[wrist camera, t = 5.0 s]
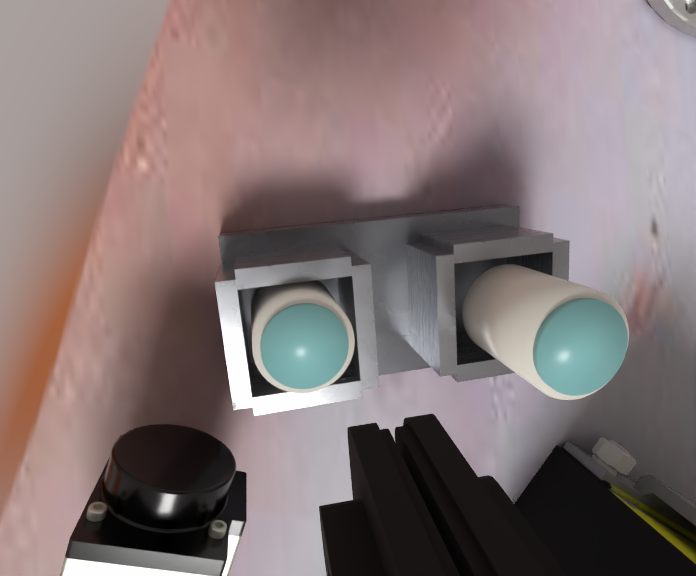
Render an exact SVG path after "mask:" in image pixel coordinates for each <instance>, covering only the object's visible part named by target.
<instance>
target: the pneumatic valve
mask: <svg viewBox="0 0 696 576" xmlns="http://www.w3.org/2000/svg"><path fill="white" fill-rule="evenodd" d="M245 523H246V473H245V472H241V471H236V462H235V458H234V456H233V454H232V453H231V451H230V450H229V449H228V448H227V447H226V446H225V445H224V444H223V443H222V442H221V441H219V440H218V439H216V438H215V437H213V436H211V435H209V434H207V433H205V432H202V431H199V430H196V429H193V428H189V427H185V426H179V425H168V424H157V425H147V426H142V427H139V428H135V429H133V430H130V431H128V432H127V433H125V434H123V435H121V436H120V437H119V439H118V440H117V441H116V442H115V444H114V445H113V448H112V451H111V455H110V458H109V460H108V462H107V464H106V466H105V468H104V470H103V472H102V474H101V476H100V478H99V480H98V482H97V484H96V486H95V488H94V490H93V492H92V494H91V496H90V498H89V500H88V502H87V504H86V506H85V508H84V510H83V513H82V515H81V517H80V519H79V521H78V523H77V525H76V527H75V529H74V531H73V533H72V535H71V537H70V540H69V544H68V547H67V551H66V555H65V559H64V562H63V566H62V570H61V573H60V576H228V575H229V572H230V569H231V566H232V563H233V560H234V557H235V554H236V551H237V548H238V545H239V542H240V539H241V536H242V532H243V529H244V526H245Z"/></svg>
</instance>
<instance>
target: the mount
mask: <svg viewBox="0 0 696 576" xmlns="http://www.w3.org/2000/svg"><path fill="white" fill-rule="evenodd" d="M218 238H219V245H220V252H221V259H222V265H220V267H219V270H218V273H217V276H216V279H215V288H216V295H217V302H218V309H219V315H220V322H221V329H222V336H223V343H224V349H225V356H226V363H227V370H228V377H229V384H230V390H231V397H232V404H233V410H237V409H243V408H250V407H253V410H254V416H256V415H262V414H268V413H274V412H280V411H286V410H292V409H298V408H304V407H310V406H316V405H322V404H328V403H334V402H340V401H346V400H352V399H358V398H362V392H361V389H367V388H373V387H379V375H385V374H391V373H398V372H404V371H410V370H417V369H423V368H429V367H432V368H433V369H434V370H435V371H436V372H437V374H438V375H439V376H440V377H441V376H447V375H451V376H452V377H453V378H454V379H455V380H456V381H457V382H461V381H467V380H473V379H479V378H485V377H491V376H497V375H503V374H509V373H515V372H514V371H512V370H511V369H510V368H508V367H507V366H506V365H504V364H503V363H501V362H500V361H499V360H497V359H496V358H494V357H493V356H492V355H490V354H489V353H488V352H486V351H485V350H483V349H482V348H481V347H479V346H478V345H476V344H475V343H474V342H473V341H472V340H471V339H470V337H469V336H468V334H467V332H466V330H465V328H464V324H463V318H462V308H463V303H464V299H465V296H466V294H467V292H468V290H469V288H470V286H471V285H472V284H473V282H474V281H475V280H476V279H477V278H478V277H479V276H480V275H481V274H483V273H484V272H486V271H487V270H489V269H491V268H493V267H496V266H499V265H504V264H515V265H519V266H523V267H526V268H529V269H532V270H535V271H538V272H542V273H545V274H548V275H551V276H554V277H557V278H560V279H564V280H567V281H568V278H569V241H568V240H563V239H558V238H553V233H547V232H542V231H536V230H531V229H525V228H519V206H512V205H496V206H486V207H476V208H466V209H456V210H446V211H437V212H427V213H417V214H407V215H397V216H387V217H377V218H367V219H357V220H347V221H337V222H327V223H317V224H307V225H297V226H287V227H277V228H267V229H257V230H247V231H237V232H227V233H220V234H219V236H218ZM314 280H319V281H320V282H321V283H323V285H324V286H325V287H326V288H327V290H328V291H329V292H330V294H331V295H332V296H333V298H334V299H335V301H336V302H337V303H338V305H339V306H340V307H341V309H342V310H343V312H344V313H345V314H346V316H347V317H348V319H349V321H350V323H351V325H352V328H353V331H354V338H355V346H354V352H353V356H352V359H351V361H350V364H349V365H348V367H347V369H346V370H345V372H344V373H343V374H342V375H341V376H340V377H339V378H338V379H337V380H336V381H335V382H334V383H332V384H330V385H329V386H327V387H325V388H323V389H321V390H318V391H314V392H310V393H293V392H288V391H284V390H282V389H279V388H277V387H276V386H274V385H272V384H271V383H270V382H268V381H267V380H266V379H265V378H264V377H263V376H262V374H261V373H260V371H259V370H258V368H257V366H256V364H255V361H254V357H253V352H252V325H251V307H252V302H253V299H254V297H255V295H256V293H257V291H258V290H259V288H260V287H264V286H273V285H281V284H289V283H297V282H306V281H314Z"/></svg>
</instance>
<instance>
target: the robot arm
mask: <svg viewBox="0 0 696 576" xmlns="http://www.w3.org/2000/svg"><path fill="white" fill-rule="evenodd" d="M647 1H648V2H649V4H650V5H651V7H652V8H653V9H654V10H655V11H656V12H657V13H658V14H659V15H660V16H661V17H662V18H663V19H664V20H665V21H666V22H667V23H669V24H670V25H672V26H673V27H675V28H676V29H678V30H680V31H681V32H683V33H686V34H688V35H691V36H694V37H696V0H647ZM348 445H349V456H350V468H351V480H352V492H353V500H351V501H345V502H340V503H334V504H329V505H323V506H319V511H320V522H321V531H322V541H323V549H324V557H325V565H326V573H327V576H567V574H566V573H565V572H564V570H563V569H562V568H561V566H560V565H559V564H558V562H557V561H556V560H555V558H554V557H553V556H552V554H551V553H550V552H549V550H548V549H547V548H546V546H545V545H544V544H543V542H542V541H541V540H540V538H539V537H538V536H537V534H536V533H535V532H534V530H533V529H532V528H531V526H530V525H529V524H528V522H527V521H526V520H525V518H524V517H523V516H522V514H521V513H520V512H519V510H518V509H517V508H516V506H515V505H514V504H513V502H512V501H511V500H510V498H509V497H508V496H507V494H506V493H505V492H504V490H503V489H502V488H501V486H500V485H499V484H498V482H497V481H496V480H495V479H494V478H493V477H491V476H483V477H477V475H476V474H475V472H474V471H473V469H472V468H471V467H470V465H469V464H468V462H467V461H466V459H465V458H464V457H463V455H462V454H461V452H460V451H459V449H458V448H457V447H456V445H455V444H454V442H453V441H452V439H451V438H450V437H449V435H448V434H447V432H446V431H445V429H444V428H443V427H442V425H441V424H440V422H439V421H438V419H437V418H436V416H435V415H434V414H428V415H421V416H415V417H409V418H405V419H404V423H403V426H401V427H396V428H395V441H394V439H393V437H392V435H391V433H390V431H389V429H382V430H380V429H379V427H378V425H377V423H371V424H365V425H359V426H352V427H348Z"/></svg>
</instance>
